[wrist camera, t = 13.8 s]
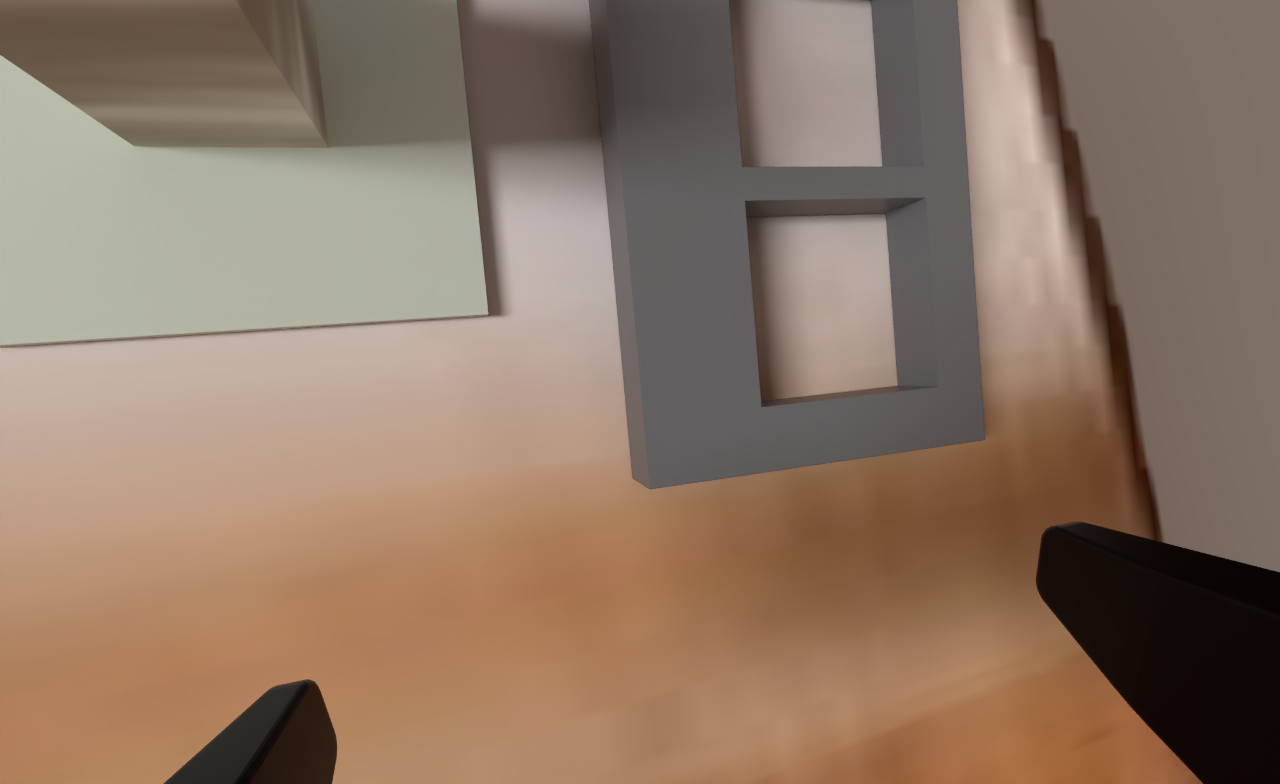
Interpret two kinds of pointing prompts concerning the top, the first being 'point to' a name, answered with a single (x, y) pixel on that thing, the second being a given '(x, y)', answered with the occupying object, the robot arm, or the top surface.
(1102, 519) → the top surface
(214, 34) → the cream block
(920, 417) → the puzzle board
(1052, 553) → the robot arm
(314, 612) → the top surface
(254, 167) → the mat
